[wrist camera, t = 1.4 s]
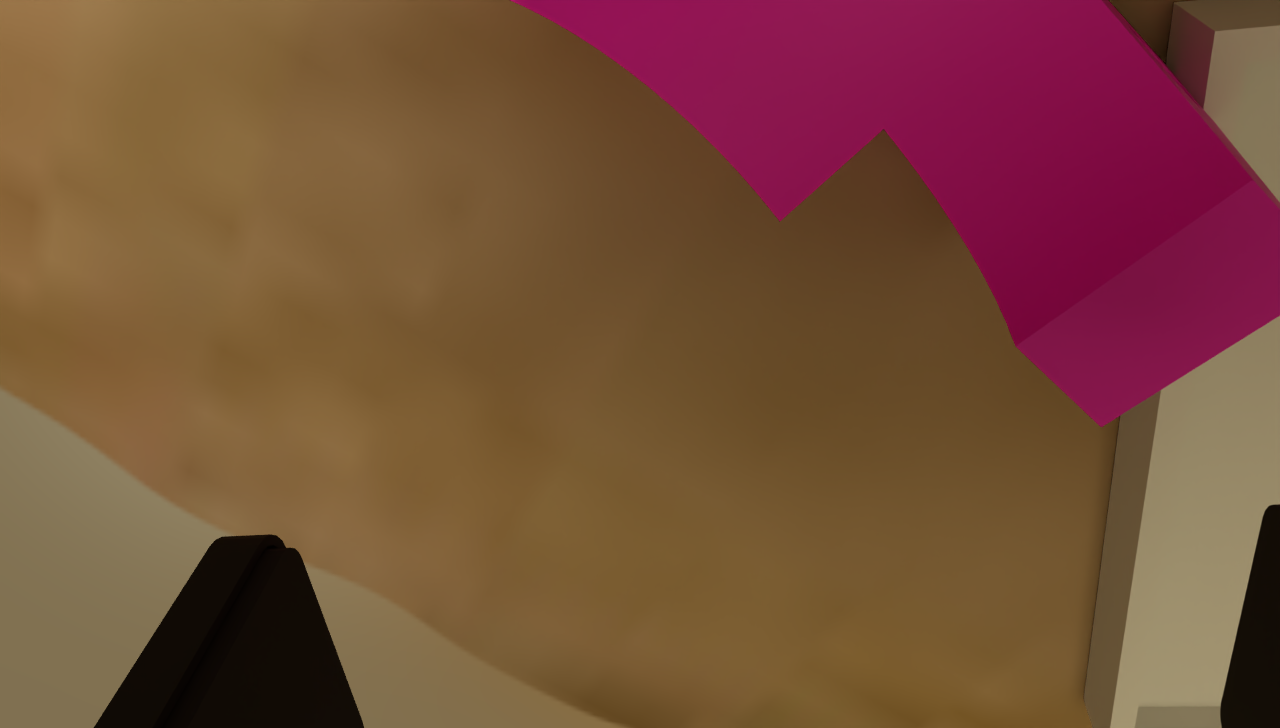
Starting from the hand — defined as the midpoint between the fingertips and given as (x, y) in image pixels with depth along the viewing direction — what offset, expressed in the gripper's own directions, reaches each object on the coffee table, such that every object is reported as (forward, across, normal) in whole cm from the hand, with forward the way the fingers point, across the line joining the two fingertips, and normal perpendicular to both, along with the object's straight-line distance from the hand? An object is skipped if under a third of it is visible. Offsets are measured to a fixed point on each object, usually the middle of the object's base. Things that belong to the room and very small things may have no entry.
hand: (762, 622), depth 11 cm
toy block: (+14, -1, -4) cm, 15 cm away
